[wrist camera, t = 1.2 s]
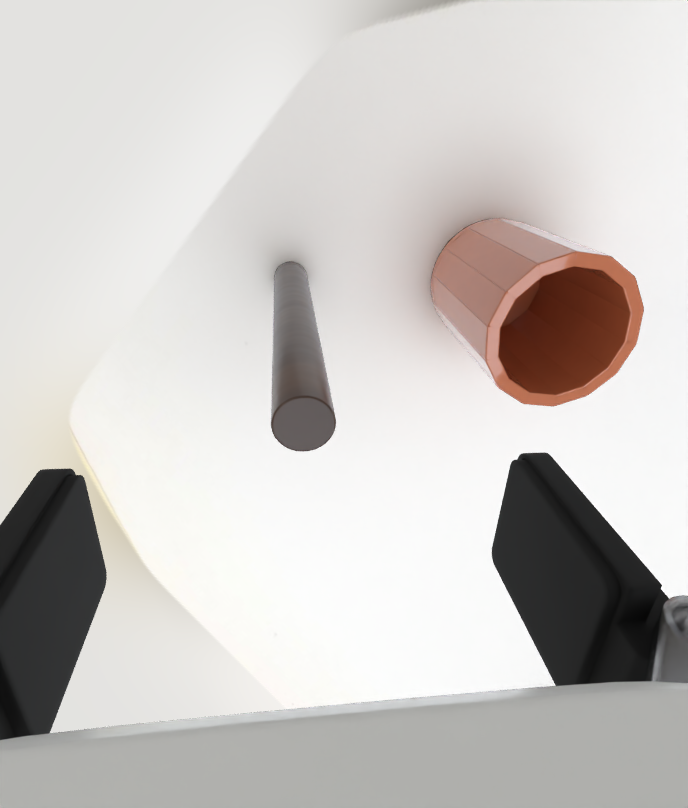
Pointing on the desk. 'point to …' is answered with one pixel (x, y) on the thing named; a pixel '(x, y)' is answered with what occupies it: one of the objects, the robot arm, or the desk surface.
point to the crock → (536, 309)
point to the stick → (298, 366)
